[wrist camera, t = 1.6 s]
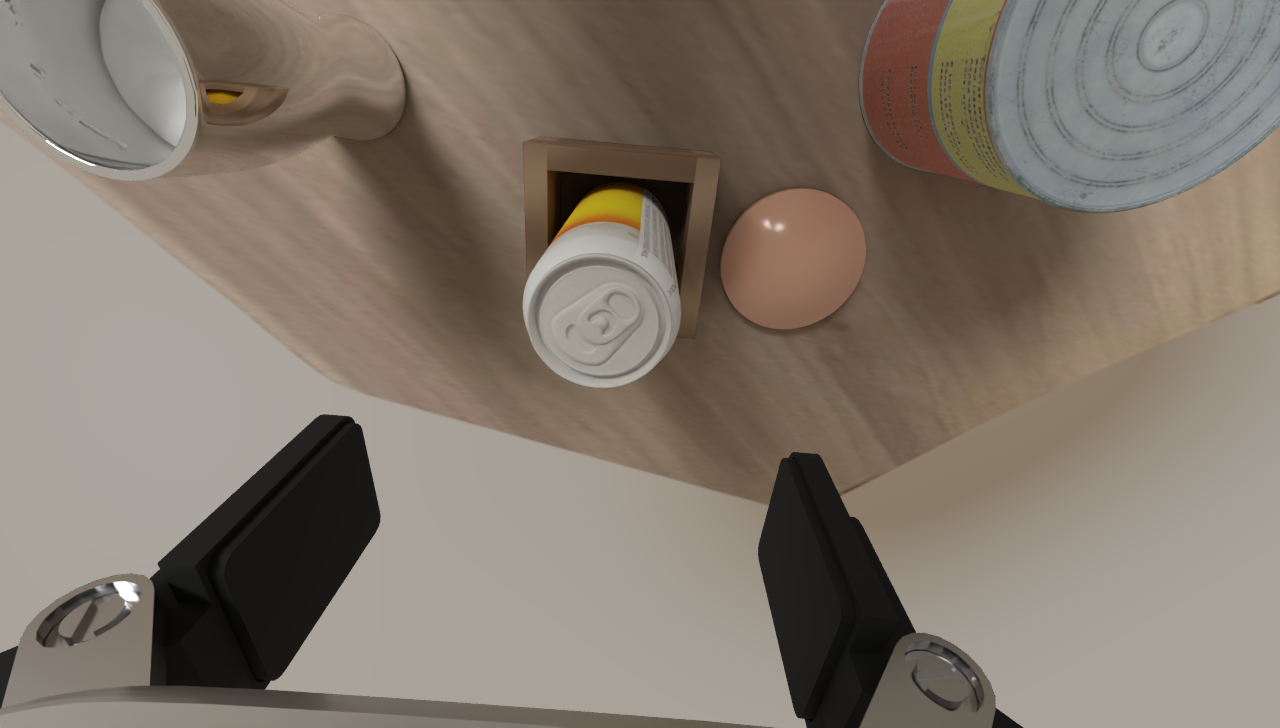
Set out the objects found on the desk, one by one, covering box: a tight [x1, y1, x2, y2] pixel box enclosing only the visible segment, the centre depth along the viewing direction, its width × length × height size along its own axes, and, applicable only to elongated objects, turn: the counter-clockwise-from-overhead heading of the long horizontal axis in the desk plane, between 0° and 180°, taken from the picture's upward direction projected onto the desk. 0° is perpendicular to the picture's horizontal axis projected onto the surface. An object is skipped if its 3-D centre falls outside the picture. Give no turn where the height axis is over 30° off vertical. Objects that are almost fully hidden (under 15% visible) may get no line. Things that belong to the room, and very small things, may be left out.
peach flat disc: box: [720, 187, 866, 329], centre depth 32 cm, size 9×9×1 cm
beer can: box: [523, 181, 681, 388], centre depth 25 cm, size 6×6×15 cm
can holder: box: [523, 137, 721, 339], centre depth 29 cm, size 10×10×4 cm
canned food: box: [859, 0, 1280, 213], centre depth 21 cm, size 11×11×12 cm
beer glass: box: [0, 0, 406, 181], centre depth 21 cm, size 7×7×15 cm
